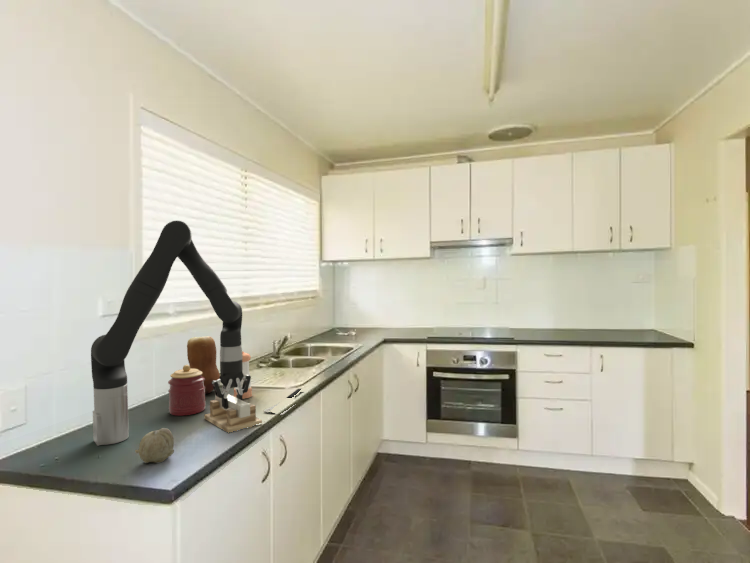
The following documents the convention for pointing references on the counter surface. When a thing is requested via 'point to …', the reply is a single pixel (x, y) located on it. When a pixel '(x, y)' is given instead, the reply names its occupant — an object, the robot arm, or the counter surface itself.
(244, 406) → the cream white rectangular bar
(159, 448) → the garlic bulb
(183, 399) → the canister
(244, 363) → the salt shaker
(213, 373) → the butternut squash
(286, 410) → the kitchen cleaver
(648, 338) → the counter surface
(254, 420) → the wooden plate with pegs
